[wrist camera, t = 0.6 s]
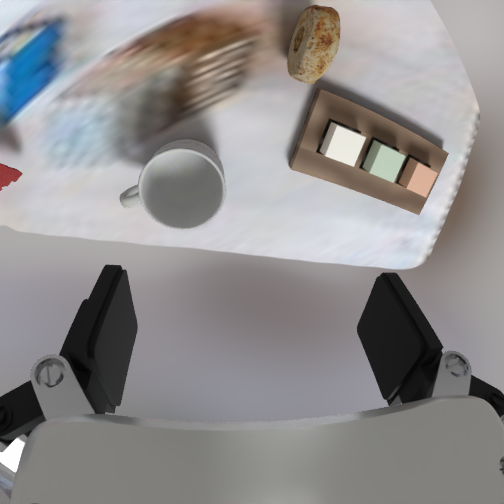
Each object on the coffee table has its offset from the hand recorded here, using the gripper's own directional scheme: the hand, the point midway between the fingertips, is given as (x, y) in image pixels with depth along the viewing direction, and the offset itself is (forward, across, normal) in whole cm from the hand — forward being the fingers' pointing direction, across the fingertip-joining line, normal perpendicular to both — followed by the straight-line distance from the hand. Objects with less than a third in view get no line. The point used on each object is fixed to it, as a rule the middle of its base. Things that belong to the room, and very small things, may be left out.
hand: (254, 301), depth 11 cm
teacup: (+34, +8, +6) cm, 35 cm away
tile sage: (+31, -21, +1) cm, 38 cm away
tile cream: (+31, -14, 0) cm, 35 cm away
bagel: (+34, -8, -13) cm, 37 cm away
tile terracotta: (+32, -28, +3) cm, 42 cm away
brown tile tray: (+34, -21, +1) cm, 40 cm away
